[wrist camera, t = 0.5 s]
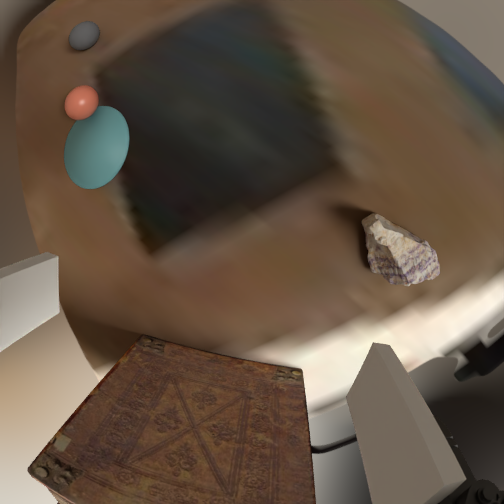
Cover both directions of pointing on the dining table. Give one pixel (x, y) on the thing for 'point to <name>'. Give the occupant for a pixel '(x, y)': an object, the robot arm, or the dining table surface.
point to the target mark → (96, 148)
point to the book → (184, 433)
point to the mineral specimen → (398, 252)
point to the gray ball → (84, 35)
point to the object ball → (81, 102)
